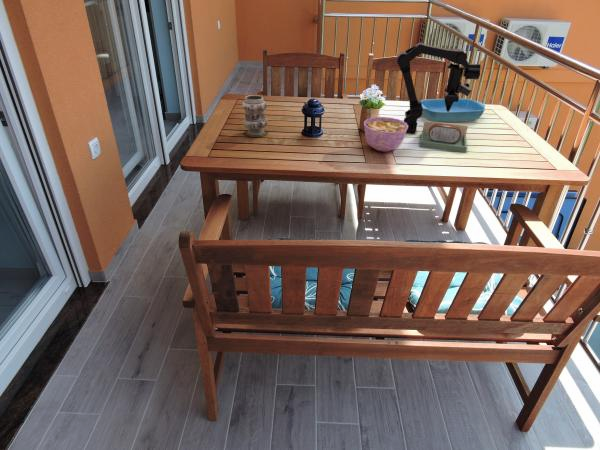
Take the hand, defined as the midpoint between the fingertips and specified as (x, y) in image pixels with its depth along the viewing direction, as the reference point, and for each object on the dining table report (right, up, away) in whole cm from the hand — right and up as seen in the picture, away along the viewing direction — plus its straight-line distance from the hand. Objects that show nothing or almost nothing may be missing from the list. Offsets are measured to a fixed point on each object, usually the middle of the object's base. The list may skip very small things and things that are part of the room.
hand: (447, 110), depth 205 cm
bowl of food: (-34, -20, -10) cm, 41 cm away
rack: (-4, -17, -4) cm, 18 cm away
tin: (-4, -16, -4) cm, 17 cm away
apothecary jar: (-95, -11, +3) cm, 96 cm away
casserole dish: (+11, +4, +29) cm, 31 cm away
